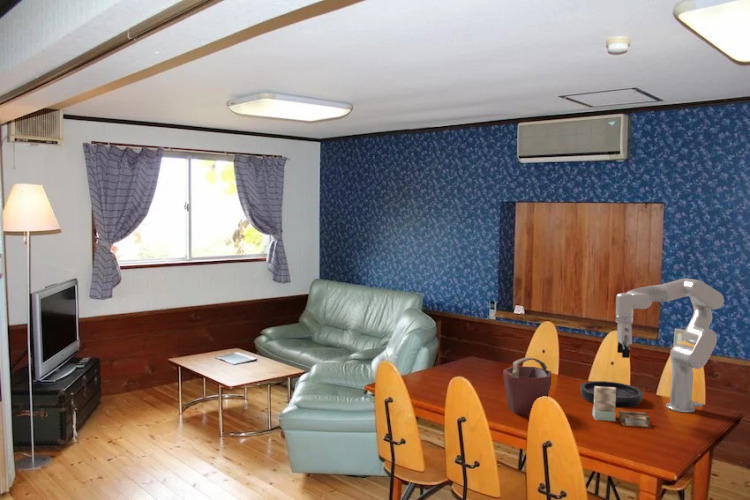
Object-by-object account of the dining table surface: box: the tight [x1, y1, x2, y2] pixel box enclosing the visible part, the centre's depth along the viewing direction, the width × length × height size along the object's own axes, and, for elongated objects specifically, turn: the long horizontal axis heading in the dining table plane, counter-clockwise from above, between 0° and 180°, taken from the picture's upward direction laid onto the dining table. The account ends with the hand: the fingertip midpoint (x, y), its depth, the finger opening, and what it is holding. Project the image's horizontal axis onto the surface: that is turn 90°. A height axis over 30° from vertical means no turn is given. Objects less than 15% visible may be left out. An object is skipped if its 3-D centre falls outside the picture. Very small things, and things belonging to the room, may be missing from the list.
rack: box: [617, 410, 652, 428], centre depth 282 cm, size 12×10×4 cm
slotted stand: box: [591, 406, 617, 422], centre depth 288 cm, size 9×8×4 cm
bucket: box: [502, 357, 552, 417], centre depth 299 cm, size 24×22×25 cm
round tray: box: [579, 380, 644, 408], centre depth 320 cm, size 30×6×30 cm
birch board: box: [592, 386, 616, 417], centre depth 288 cm, size 9×2×14 cm, turn 80°
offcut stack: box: [625, 416, 649, 428], centre depth 279 cm, size 9×3×3 cm, turn 80°
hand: (623, 355), depth 298 cm, fingers open, 9 cm apart
